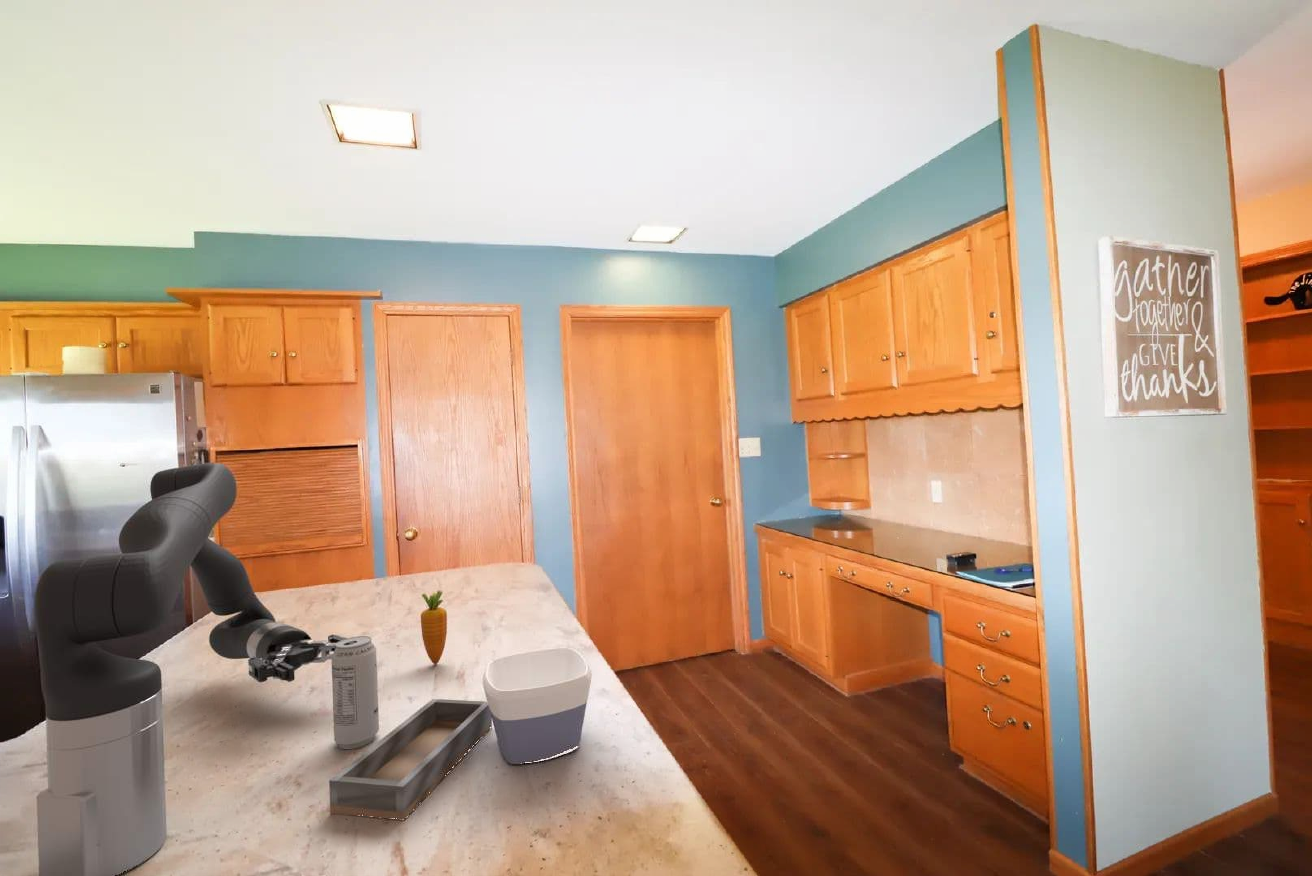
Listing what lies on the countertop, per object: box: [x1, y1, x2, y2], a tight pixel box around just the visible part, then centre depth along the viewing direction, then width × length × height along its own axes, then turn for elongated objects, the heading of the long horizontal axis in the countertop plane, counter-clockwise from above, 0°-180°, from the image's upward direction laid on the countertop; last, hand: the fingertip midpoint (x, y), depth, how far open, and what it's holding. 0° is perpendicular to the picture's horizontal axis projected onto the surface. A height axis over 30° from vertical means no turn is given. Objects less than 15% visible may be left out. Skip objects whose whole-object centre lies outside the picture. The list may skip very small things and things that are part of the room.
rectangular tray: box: [328, 698, 493, 819], centre depth 79 cm, size 22×10×4 cm, turn 169°
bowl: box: [482, 647, 593, 765], centre depth 84 cm, size 15×15×11 cm
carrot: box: [420, 589, 448, 665], centre depth 116 cm, size 5×5×15 cm
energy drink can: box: [330, 635, 380, 750], centre depth 87 cm, size 6×6×15 cm
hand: (320, 665), depth 93 cm, fingers open, 8 cm apart
